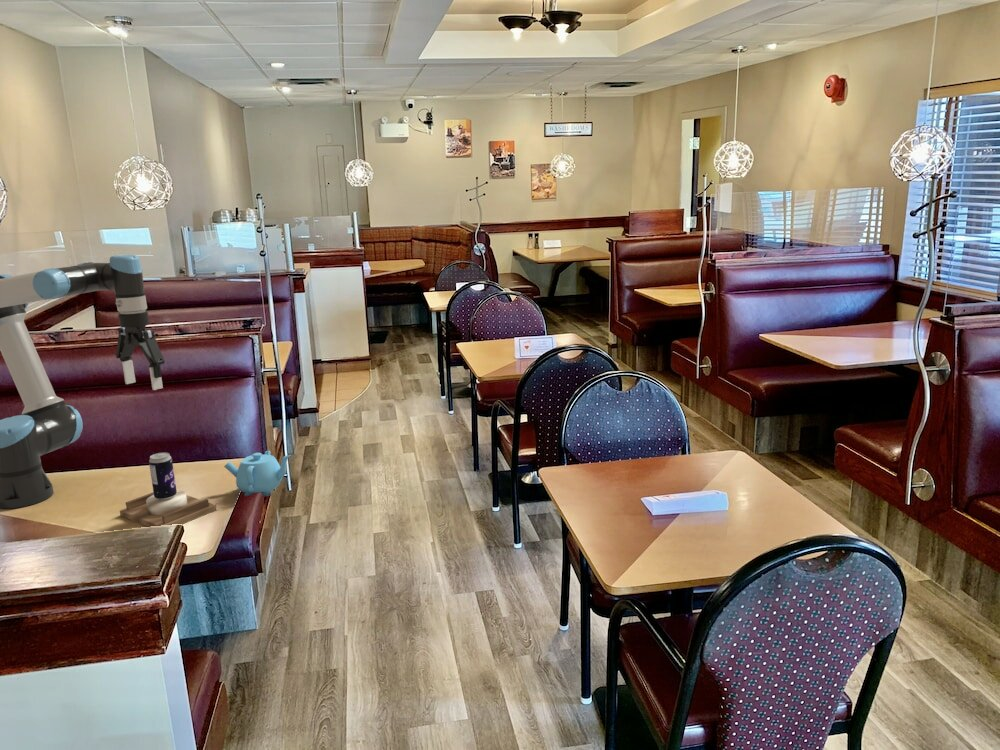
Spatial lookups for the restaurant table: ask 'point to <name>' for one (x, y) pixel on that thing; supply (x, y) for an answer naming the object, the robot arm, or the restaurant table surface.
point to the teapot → (258, 473)
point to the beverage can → (162, 476)
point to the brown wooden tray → (166, 509)
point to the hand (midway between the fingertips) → (143, 386)
